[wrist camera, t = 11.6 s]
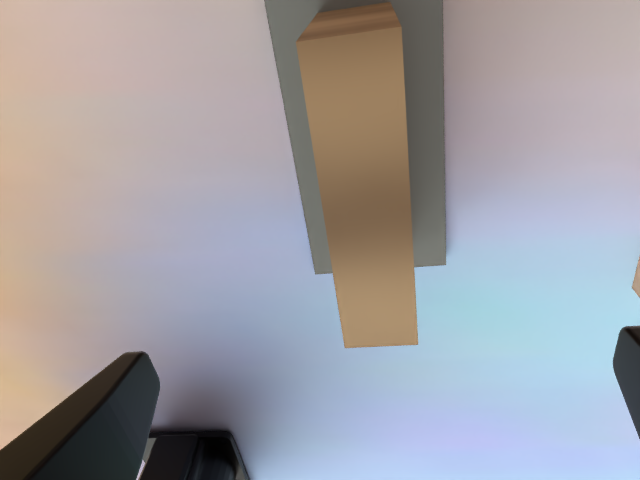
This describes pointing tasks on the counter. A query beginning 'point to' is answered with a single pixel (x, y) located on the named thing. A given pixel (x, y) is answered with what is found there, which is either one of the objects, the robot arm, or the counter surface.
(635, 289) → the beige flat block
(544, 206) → the counter surface
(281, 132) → the counter surface
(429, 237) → the mat
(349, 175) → the tan long block
